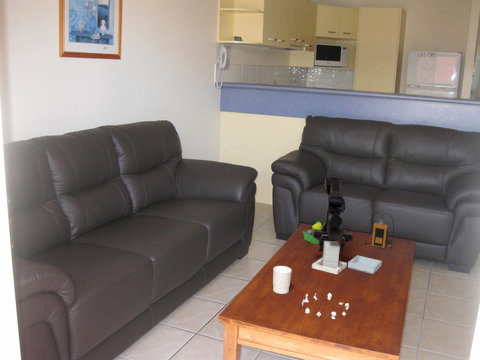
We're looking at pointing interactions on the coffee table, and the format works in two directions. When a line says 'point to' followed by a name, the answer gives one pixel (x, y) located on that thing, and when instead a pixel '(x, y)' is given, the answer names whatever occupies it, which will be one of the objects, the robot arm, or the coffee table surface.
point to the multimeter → (380, 233)
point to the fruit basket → (309, 233)
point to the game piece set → (328, 299)
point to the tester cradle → (331, 270)
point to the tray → (364, 264)
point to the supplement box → (330, 254)
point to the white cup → (281, 279)
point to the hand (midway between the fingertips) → (330, 251)
